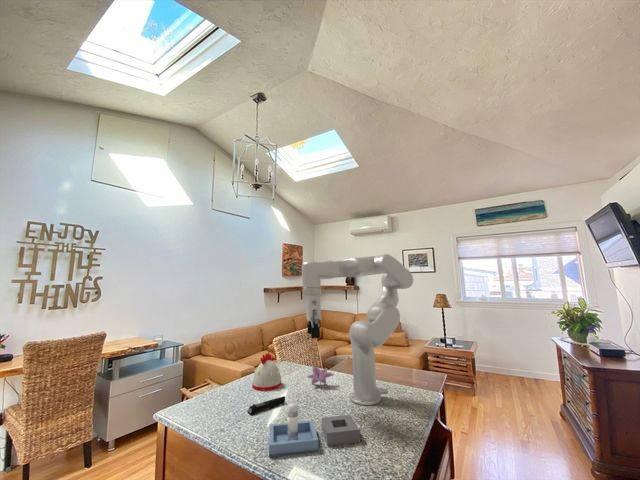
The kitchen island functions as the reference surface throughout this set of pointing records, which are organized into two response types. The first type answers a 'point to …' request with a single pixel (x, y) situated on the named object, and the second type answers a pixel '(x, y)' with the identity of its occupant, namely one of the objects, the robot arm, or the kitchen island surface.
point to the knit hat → (266, 375)
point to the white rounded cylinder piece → (292, 421)
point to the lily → (319, 375)
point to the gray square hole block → (340, 430)
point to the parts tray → (284, 447)
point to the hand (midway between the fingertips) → (313, 335)
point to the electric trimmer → (265, 405)
